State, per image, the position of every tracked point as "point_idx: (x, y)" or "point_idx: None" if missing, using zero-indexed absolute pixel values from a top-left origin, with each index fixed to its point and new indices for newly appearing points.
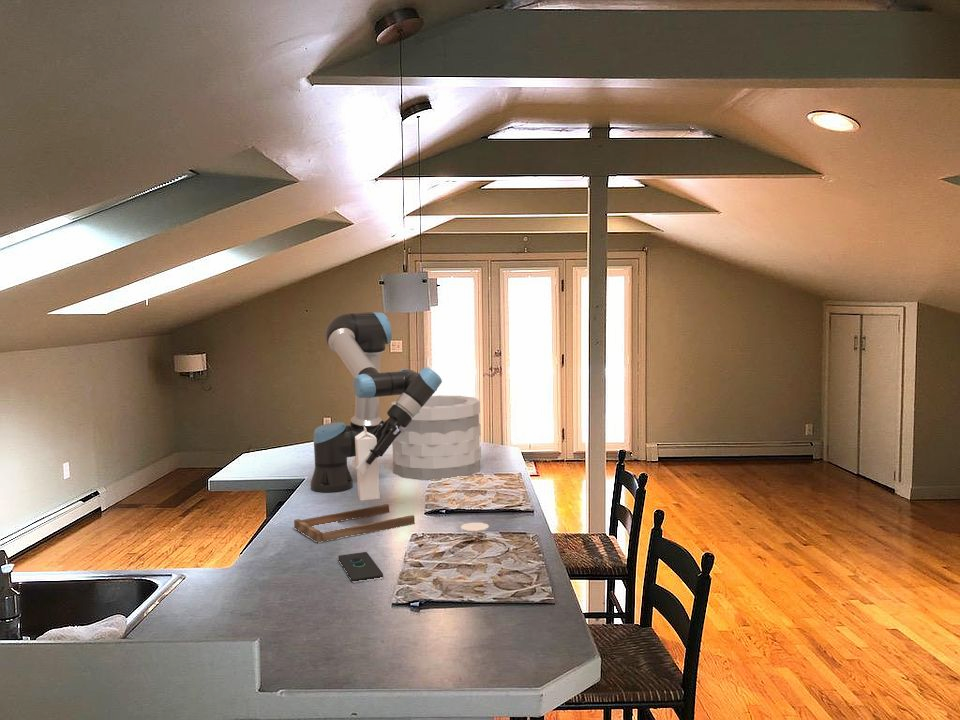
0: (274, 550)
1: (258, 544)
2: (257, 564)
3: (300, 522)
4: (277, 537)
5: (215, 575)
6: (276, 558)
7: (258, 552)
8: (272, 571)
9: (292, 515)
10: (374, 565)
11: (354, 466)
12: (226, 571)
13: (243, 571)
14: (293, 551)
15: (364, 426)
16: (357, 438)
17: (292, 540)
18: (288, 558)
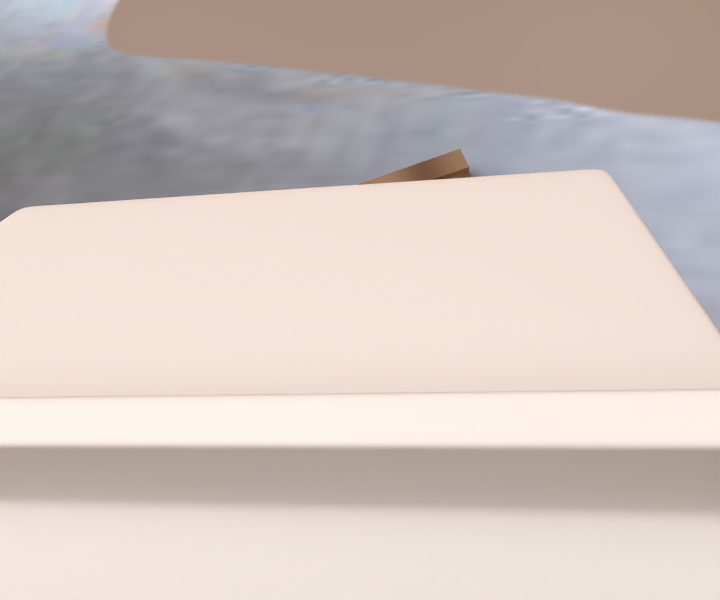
0: (206, 125)
1: (300, 74)
2: (90, 90)
3: (401, 175)
4: (363, 124)
5: (62, 8)
6: (117, 135)
7: (209, 82)
8: (2, 133)
9: (716, 162)
10: None
11: None
12: (78, 26)
13: (51, 63)
14: (162, 182)
15: (459, 418)
16: (151, 212)
17: (300, 174)
18: (95, 169)
